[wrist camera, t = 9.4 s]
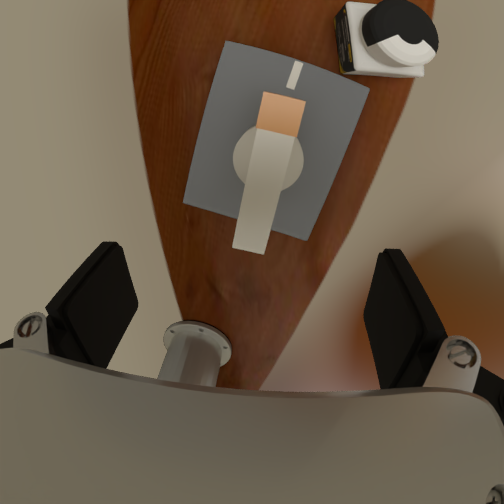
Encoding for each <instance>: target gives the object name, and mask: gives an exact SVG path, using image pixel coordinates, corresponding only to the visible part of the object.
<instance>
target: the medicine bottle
mask: <svg viewBox="0 0 504 504" xmlns="http://www.w3.org/2000/svg"><path fill="white" fill-rule="evenodd" d="M334 25H335V32H336V40H337V48H338V56H339V66H340V72H341V73H342V74H353V75H372V76H385V77H395V78H403V77H423V76H424V64H426V63H428V62H429V61H431V60H432V59H433V58H434V56H435V54H436V52H437V49H438V43H439V41H438V34H437V31H436V28H435V26H434V24H433V22H432V20H431V19H430V18H429V16H428V15H427V14H426V13H425V12H424V11H423V10H422V9H421V8H419V7H418V6H417V5H415V4H413V3H411V2H409V1H407V0H383V1H381V2H379V3H378V4H369V3H359V2H347V3H346V4H345V5H344V6H343V7H342V9H341V10H340V11H339V12H338V14H337V15H336V16H335V17H334Z"/></svg>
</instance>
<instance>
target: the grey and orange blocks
mask: <svg viewBox="0 0 504 504" xmlns="http://www.w3.org/2000/svg"><path fill="white" fill-rule="evenodd" d="M305 103H306V101H304V100H301V99H297V98H293V97H289V96H285V95H280V94H276V93H271V92H267V91H264V92H263V97H262V101H261V106H260V110H259V114H258V119H257V123H256V125H254V126H252V127H251V128H249V129H248V130H247V131H246V132H245V133H244V134H243V136H242V137H241V138H240V139H239V141H238V142H237V144H236V146H235V149H234V152H233V165H234V169H235V171H236V173H237V175H238V177H239V178H240V179H241V181H242V182H243V183H244V184H245V187H244V192H243V196H242V201H241V206H240V211H239V216H238V221H237V226H236V231H235V236H234V241H233V246H232V248H236V249H241V250H245V251H250V252H254V253H258V254H263V255H264V252H265V249H266V245H267V241H268V238H269V234H270V230H271V226H272V223H273V219H274V215H275V211H276V208H277V204H278V200H279V196H280V193H281V191H282V190H284V189H286V188H288V187H290V186H291V185H292V184H293V183H294V182H295V181H296V180H297V179H298V177H299V176H300V174H301V172H302V169H303V164H304V156H303V151H302V148H301V145H300V143H299V140H298V138H297V135H298V131H299V127H300V123H301V119H302V115H303V111H304V107H305Z"/></svg>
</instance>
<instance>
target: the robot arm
mask: <svg viewBox="0 0 504 504" xmlns="http://www.w3.org/2000/svg"><path fill="white" fill-rule="evenodd" d="M45 308H46V310H47V312H48V314H49V315H48V316H47V318H46V317H45V315H44V314H43V313H40V312H34V313H30V314H28V315H26V316H25V317H23V318H22V319H21V320H20V321H19V322H18V323H17V325H16V327H15V329H14V338H12V339H10V340H8V341H6V342H4V343H2V344H0V504H504V380H503V379H501V378H500V377H498V376H496V375H495V374H493V373H491V372H490V371H488V370H486V369H485V368H483V367H481V366H480V364H481V355H480V351H479V350H478V348H477V346H476V345H475V344H474V343H473V342H472V341H470V340H469V339H467V338H465V337H462V336H450V337H448V336H447V334H446V332H445V329H444V326H443V324H442V322H441V320H440V318H439V316H438V314H437V312H436V310H435V308H434V307H433V305H432V303H431V301H430V299H429V297H428V295H427V293H426V292H425V290H424V288H423V286H422V284H421V283H420V281H419V279H418V277H417V276H416V274H415V272H414V271H413V269H412V267H411V265H410V264H409V262H408V261H407V259H406V257H405V256H404V254H403V253H402V251H401V250H400V249H385V250H384V251H383V253H379V255H378V258H377V263H376V267H375V271H374V275H373V279H372V283H371V287H370V291H369V294H368V298H367V302H366V306H365V309H364V322H365V326H366V330H367V333H368V337H369V341H370V345H371V349H372V353H373V357H374V362H375V366H376V370H377V374H378V379H379V384H380V388H381V389H380V390H364V391H341V392H340V391H339V392H338V391H337V392H280V391H258V390H243V389H230V388H219V387H216V382H217V377H218V372H219V367H220V366H222V365H224V364H226V363H227V362H228V361H229V359H230V357H231V353H232V347H231V344H230V342H229V340H228V339H227V337H226V336H225V335H224V334H223V333H221V332H220V331H219V330H217V329H216V328H214V327H212V326H210V325H207V324H204V323H201V322H196V321H180V322H176V323H174V324H172V325H171V326H169V327H168V328H167V330H166V332H165V334H164V339H163V340H164V345H165V347H166V349H167V350H168V351H167V354H166V356H165V359H164V362H163V364H162V367H161V370H160V373H159V375H158V378H157V379H154V378H148V377H143V376H137V375H132V374H127V373H123V372H118V371H114V370H109V369H106V368H107V366H108V364H109V362H110V360H111V358H112V356H113V354H114V352H115V350H116V348H117V346H118V344H119V342H120V340H121V339H122V337H123V335H124V333H125V331H126V329H127V327H128V325H129V324H130V322H131V320H132V318H133V316H134V314H135V312H136V311H137V308H138V300H137V296H136V293H135V290H134V287H133V283H132V280H131V277H130V273H129V270H128V266H127V262H126V259H125V255H124V252H123V248H122V247H121V246H119V244H118V243H117V242H102V243H101V244H100V245H99V246H98V247H97V248H96V249H95V250H94V251H93V252H92V253H91V255H90V256H89V257H88V258H87V259H86V260H85V261H84V262H83V263H82V264H81V266H80V267H79V268H78V269H77V270H76V271H75V272H74V273H73V275H72V276H71V277H70V278H69V279H68V280H67V282H66V283H65V284H64V285H63V286H62V288H61V289H60V290H59V291H58V292H57V293H56V295H55V296H54V297H53V298H52V300H51V301H50V302H49V303H48V305H47V306H46V307H45Z"/></svg>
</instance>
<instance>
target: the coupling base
mask: <svg viewBox="0 0 504 504" xmlns="http://www.w3.org/2000/svg"><path fill="white" fill-rule="evenodd" d="M369 90H370V89H369V88H367V87H365V86H363V85H361V84H359V83H356V82H354V81H352V80H350V79H347V78H345V77H342V76H340V75H338V74H335V73H333V72H330V71H328V70H325V69H322V68H320V67H317V66H314V65H311V64H309V63H306V62H303V61H300V60H297V59H294V58H291V57H287V56H284V55H281V54H278V53H274V52H271V51H267V50H263V49H260V48H256V47H252V46H248V45H243V44H239V43H235V42H230V41H226V42H225V45H224V48H223V51H222V54H221V57H220V60H219V63H218V67H217V70H216V73H215V76H214V80H213V83H212V87H211V90H210V93H209V97H208V101H207V104H206V108H205V111H204V115H203V119H202V123H201V126H200V130H199V134H198V138H197V142H196V146H195V150H194V155H193V159H192V163H191V168H190V172H189V176H188V181H187V186H186V190H185V195H184V200H183V203H185V204H189V205H192V206H195V207H199V208H202V209H205V210H209V211H212V212H215V213H219V214H222V215H225V216H229V217H232V218H235V219H238V216H239V211H240V206H241V201H242V196H243V192H244V187H245V184H244V183H243V182H242V181H241V179H240V178H239V177H238V175H237V173H236V171H235V169H234V165H233V152H234V149H235V146H236V144H237V142H238V141H239V139H240V138H241V137H242V136H243V134H244V133H245V132H246V131H247V130H248V129H249V128H251V127H252V126H254V125H256V123H257V119H258V114H259V110H260V106H261V101H262V97H263V92H264V91H267V92H271V93H276V94H280V95H285V96H289V97H293V98H297V99H301V100H304V101H306V103H305V107H304V111H303V115H302V119H301V123H300V127H299V131H298V135H297V138H298V140H299V143H300V145H301V148H302V151H303V156H304V164H303V169H302V172H301V174H300V176H299V177H298V179H297V180H296V181H295V182H294V183H293V184H292V185H291V186H290V187H288V188H286V189H284V190H282V191H281V193H280V196H279V200H278V204H277V208H276V211H275V215H274V219H273V223H272V226H271V230H274V231H277V232H280V233H283V234H286V235H290V236H293V237H296V238H299V239H302V240H305V241H307V240H308V238H309V235H310V233H311V231H312V229H313V227H314V224H315V222H316V220H317V218H318V215H319V213H320V211H321V208H322V206H323V204H324V202H325V199H326V197H327V195H328V192H329V190H330V188H331V185H332V183H333V181H334V178H335V176H336V174H337V171H338V169H339V166H340V164H341V161H342V159H343V157H344V154H345V152H346V149H347V147H348V144H349V142H350V139H351V137H352V134H353V132H354V129H355V127H356V124H357V122H358V119H359V117H360V114H361V111H362V109H363V106H364V104H365V101H366V98H367V96H368V93H369Z"/></svg>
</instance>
